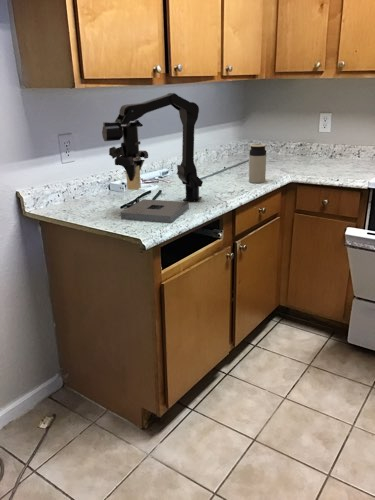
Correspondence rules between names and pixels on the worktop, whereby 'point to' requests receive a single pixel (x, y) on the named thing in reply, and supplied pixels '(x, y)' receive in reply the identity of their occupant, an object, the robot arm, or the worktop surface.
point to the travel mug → (257, 163)
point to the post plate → (155, 210)
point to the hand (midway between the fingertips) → (133, 179)
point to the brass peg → (134, 180)
